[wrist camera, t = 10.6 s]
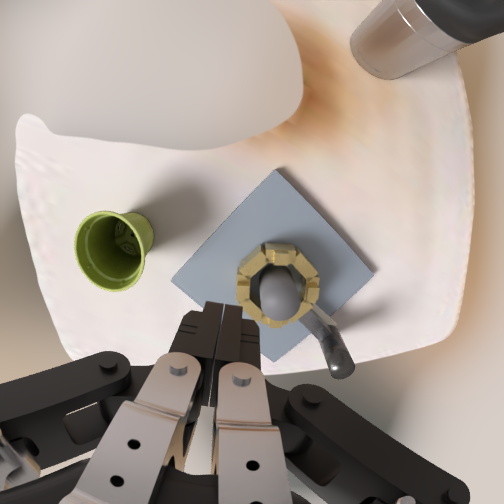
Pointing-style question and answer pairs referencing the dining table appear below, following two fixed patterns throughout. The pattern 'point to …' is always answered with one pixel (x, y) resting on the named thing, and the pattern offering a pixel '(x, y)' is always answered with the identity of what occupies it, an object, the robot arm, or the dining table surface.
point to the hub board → (273, 276)
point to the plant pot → (113, 248)
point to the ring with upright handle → (308, 293)
